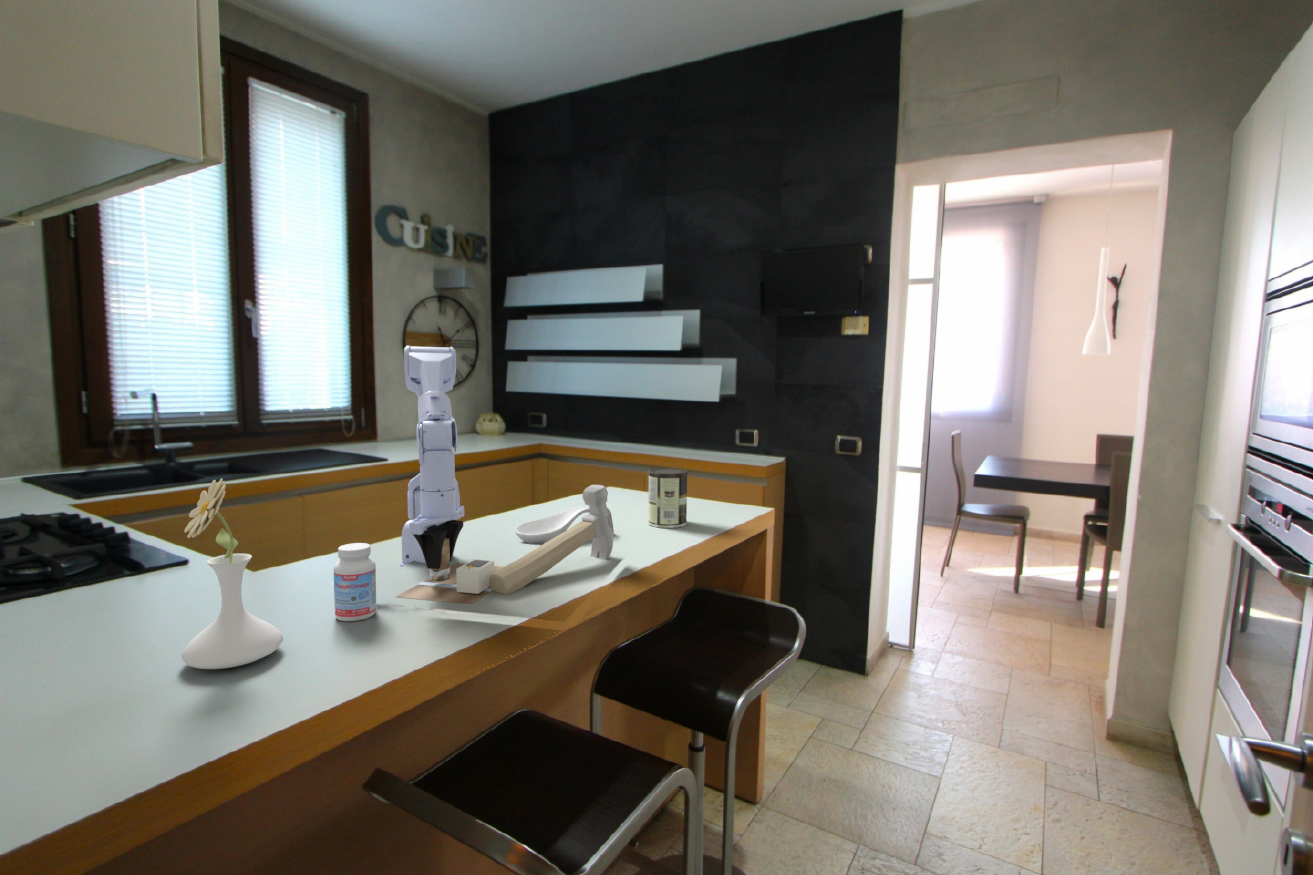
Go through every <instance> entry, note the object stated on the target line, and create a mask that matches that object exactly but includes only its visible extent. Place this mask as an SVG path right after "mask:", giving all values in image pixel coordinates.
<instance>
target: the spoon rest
mask: <svg viewBox="0 0 1313 875" xmlns="http://www.w3.org/2000/svg"><path fill="white" fill-rule="evenodd" d="M586 513H587V514H590V508H589V505H580V506H575V507H572V508H569V509H568V508H567V509H566V510H563V511H561V512H558V513H556V514H553V515H549V516H546V517H542V518H540V519H535V520H532V521H527V522H525V523H522V524H519V525H517V526H516V527H515V528H514V533H515V534H516V536H517V537H518V538H519V539H520V540H521V541H522V542H525V543H527V544H530V545H538V546H541V545H543V544H544V543H546V542H548V541H549V540H551V539H553V538H554V537H556V536H558V535H560V534H561V533H563V532H565V531H567V530H568V529H570V527H571V525H572V524H573V522H574V521H576V519H578V517H580V516H581V515H582V514H586Z"/></svg>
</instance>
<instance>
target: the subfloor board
mask: <svg viewBox="0 0 1313 875" xmlns="http://www.w3.org/2000/svg"><path fill="white" fill-rule="evenodd" d="M464 564H465V563H461V562H455V563H454V564H453V565H450V579H448V580H445V581H439V582H436V581H431V580H430V577H429V578H427V579H425V580H424V581H421V582H419V583H417V584H416V585H414V586H412V587H411V588H409V589H407V590H405V591H404V592H401V593H400V594H399V595H396V596H395V598H400V599H401V598H402V599H411V600H412V599H413V600H423V601H432V602H441V603H442V602H443V603H454V604H463V605H474V604H476V602H478V601H479V600H480V599H482V598H484V597H486V595H488V594H489V593H490V592H493V591H492V589H491V587H490V586H489V587H488V588H486V589H485V590H483V591H482V592H480V593H479V594H475V593H464V592H457V572H456V569H457V568H459V567H461V566H463V565H464ZM503 567H504V566H498V565H494V572H495V571H497V570H499V569H501V568H503Z"/></svg>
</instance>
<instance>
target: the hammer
mask: <svg viewBox="0 0 1313 875" xmlns="http://www.w3.org/2000/svg"><path fill="white" fill-rule="evenodd" d="M608 494H609V493H608V489H607V488H606V486H605V485H602V484H591V485H588V486H587V487H586V488H585V489H584V490H583V491H582V500H583V502H584V506H588V507H589V508H590V513H587V514H586V515H584V516H583V517H581V521H579V522H578V523H576V524H575V525H573V526H572V527H569V528H568V529H567V530H566V531H565V532H563V533H561V534H560V535H558V536H556V537H554V538H553V539H551V540H549V541H548V542H546V543H544V544H543V545H539V546H538V547H536V548H534V549H533V550H532V551H530V552H528V553H527V554H525V555H523V556H521V557H520V558H519V559H517V560H515V561H512V562H510V563H509V564H507V565H505V566H502V567H503V568H501V569H499V570H497V571H495V572H493V573H491V574H490V579H489V584H490V587H491V589H492V591H491V592H497V593H499V594H503V595H509V594H511V593H512V594H513V593H514V592H516V591H519V590H521V589H523V588H525V587H526V586H527V585H528V584H530V583H531V582H533V581H534V580H536V579H538V578H540V577H541V576H542V575H544V574H545V573H547V572H548V571H550V570H551V569H553V567H555V566H556V565H557V564H559V563H560V562H561V561H563V560H564V559H565V558H567V557H568V556H569V555H572V553H574V552H575V551H576V550H578V549H579V548H580V547H582V546H583V545H585V544H586V543H588V542H590V541H592V543H591V550H590V555H589V557H592V558H598V559H601V560H609V559H610V557H611V553H612V550H613V547H614V543H613V542H614V535H615V534H614V533H615V532H614V523H613V518H612V512H611V510H610V509H609V508H608V507H607V503H608V496H609V495H608Z"/></svg>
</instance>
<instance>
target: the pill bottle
mask: <svg viewBox="0 0 1313 875" xmlns="http://www.w3.org/2000/svg"><path fill="white" fill-rule="evenodd" d="M371 552H372V550H371V544H369V543H366V542H354V543H353V542H351V543H346V544H343V545H340V546H339V547H338V548H337V557H338V559H340V560H338V561H337V562H336V563H334V566H333V593H334V595H333V596H334V602H333V603H334V616H335V618H336V619H337V620H338V621H341V622H358V621H363V620H366V619H369V618H371V617H373V616H374V615H375V613H376V612H377V578H376V577H377V574H376V572H377V570H376V569H377V568H376V561H375V560H374V559H373V558H372V557H370V555H371Z"/></svg>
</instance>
